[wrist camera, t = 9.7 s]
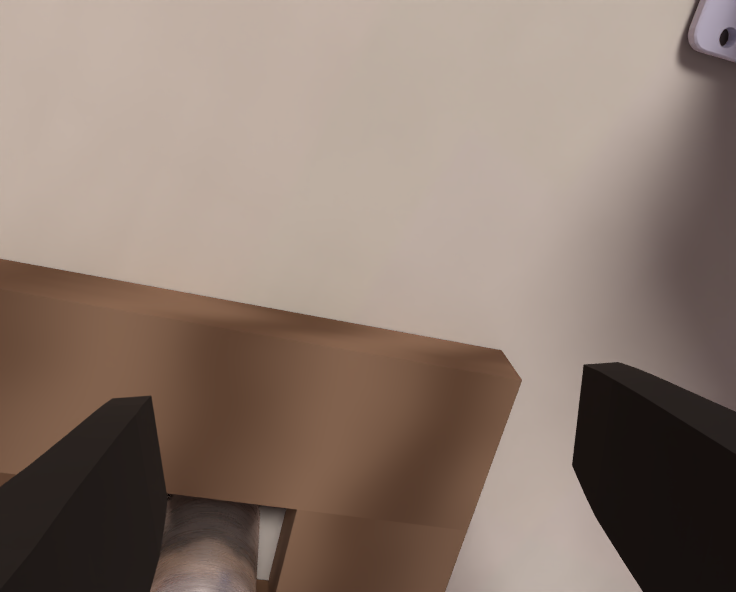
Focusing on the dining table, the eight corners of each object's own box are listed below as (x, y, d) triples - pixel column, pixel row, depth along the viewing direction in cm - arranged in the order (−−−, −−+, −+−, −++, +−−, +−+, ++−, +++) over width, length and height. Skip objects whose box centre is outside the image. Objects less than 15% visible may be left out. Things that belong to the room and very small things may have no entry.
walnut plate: (501, 350, 22) (521, 380, 20) (379, 702, 27) (386, 751, 25) (-32, 253, 19) (-67, 277, 17) (-52, 671, 24) (-80, 725, 22)
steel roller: (255, 472, 22) (245, 618, 17) (263, 548, 23) (257, 708, 18) (157, 482, 22) (114, 634, 16) (171, 558, 23) (134, 723, 18)
